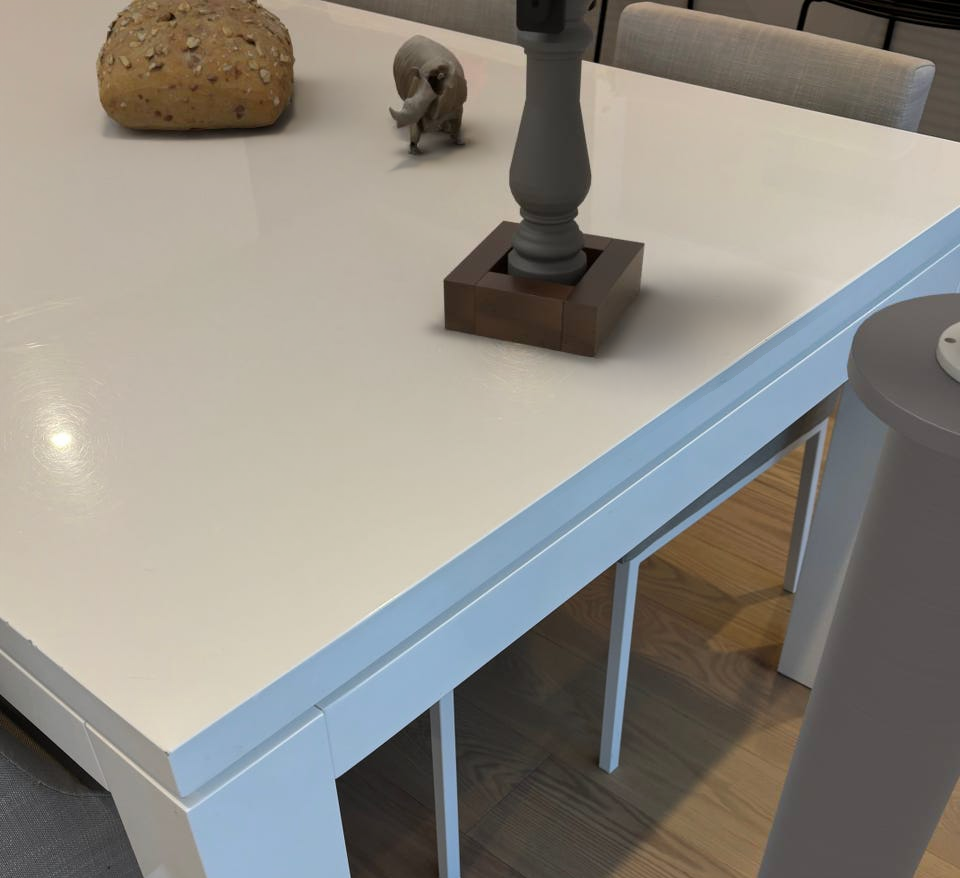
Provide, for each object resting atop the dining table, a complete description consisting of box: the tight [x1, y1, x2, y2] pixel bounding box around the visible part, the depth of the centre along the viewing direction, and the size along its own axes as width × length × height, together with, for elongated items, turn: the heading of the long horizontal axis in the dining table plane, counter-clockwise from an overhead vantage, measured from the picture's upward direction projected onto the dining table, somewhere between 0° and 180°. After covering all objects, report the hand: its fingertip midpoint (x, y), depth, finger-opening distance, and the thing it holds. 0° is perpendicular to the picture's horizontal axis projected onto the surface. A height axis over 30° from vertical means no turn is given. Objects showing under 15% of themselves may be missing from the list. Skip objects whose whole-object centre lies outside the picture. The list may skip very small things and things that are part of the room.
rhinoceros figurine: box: [388, 34, 468, 156], centre depth 113 cm, size 8×14×15 cm
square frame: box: [442, 220, 645, 358], centre depth 85 cm, size 12×12×4 cm
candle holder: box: [508, 0, 594, 287], centre depth 77 cm, size 6×6×25 cm
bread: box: [95, 0, 296, 132], centre depth 121 cm, size 24×21×12 cm
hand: (557, 16), depth 72 cm, fingers closed on candle holder, 5 cm apart
